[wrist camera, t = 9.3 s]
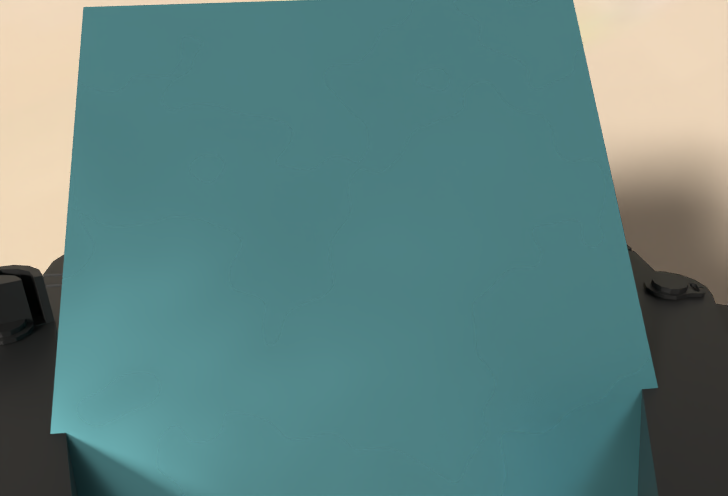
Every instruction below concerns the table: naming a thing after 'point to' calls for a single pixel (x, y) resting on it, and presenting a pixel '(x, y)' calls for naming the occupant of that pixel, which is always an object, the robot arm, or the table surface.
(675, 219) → the table surface
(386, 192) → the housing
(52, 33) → the table surface
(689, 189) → the table surface
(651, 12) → the table surface
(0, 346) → the robot arm
